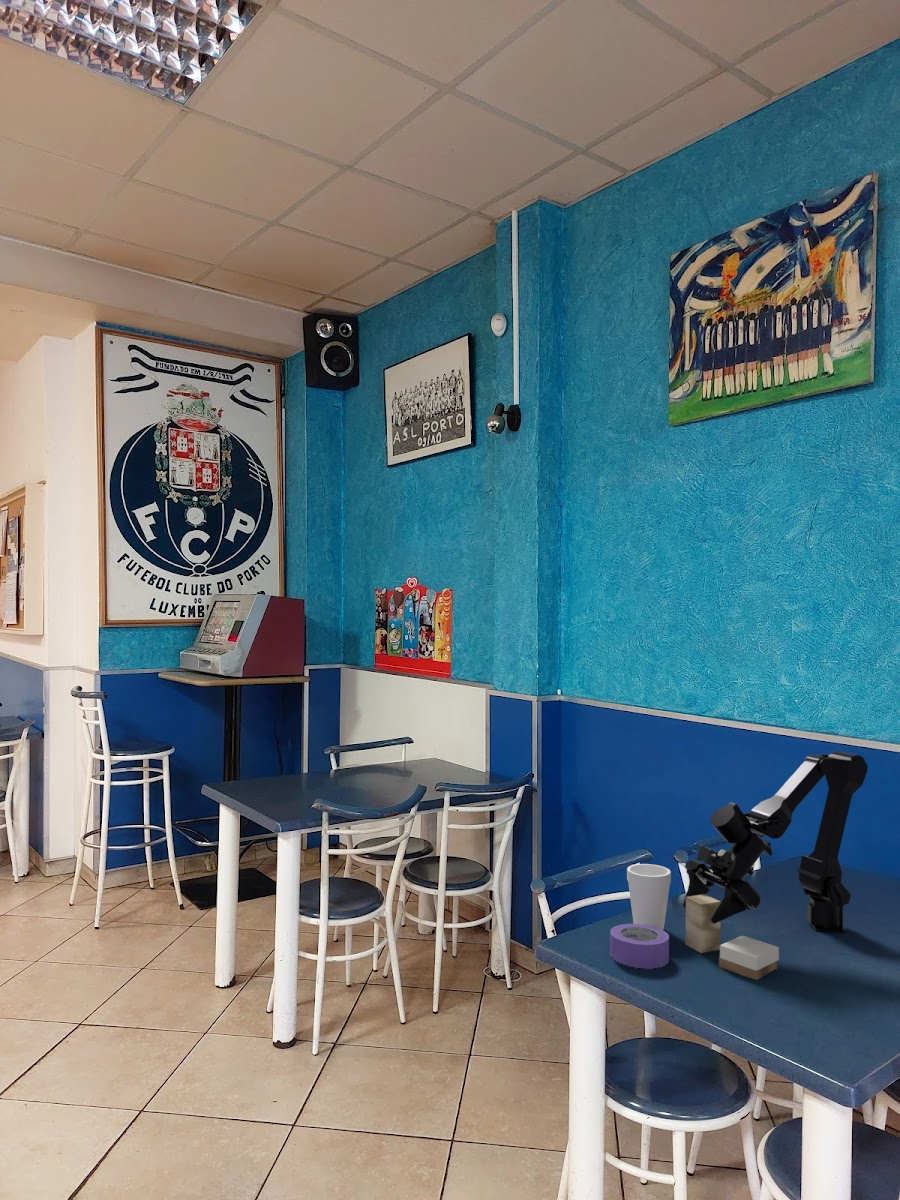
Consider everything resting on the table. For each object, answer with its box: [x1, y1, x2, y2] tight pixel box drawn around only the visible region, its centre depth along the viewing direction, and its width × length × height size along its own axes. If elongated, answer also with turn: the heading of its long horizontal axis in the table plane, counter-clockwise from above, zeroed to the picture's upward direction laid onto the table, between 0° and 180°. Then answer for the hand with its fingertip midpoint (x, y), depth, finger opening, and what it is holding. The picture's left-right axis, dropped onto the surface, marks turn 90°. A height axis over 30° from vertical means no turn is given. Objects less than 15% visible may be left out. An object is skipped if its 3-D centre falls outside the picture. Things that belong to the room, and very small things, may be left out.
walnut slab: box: [718, 956, 778, 981], centre depth 171 cm, size 8×8×2 cm
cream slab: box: [719, 935, 780, 971], centre depth 170 cm, size 8×8×2 cm
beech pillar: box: [685, 893, 722, 954], centre depth 181 cm, size 5×5×10 cm
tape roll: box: [609, 923, 670, 970], centre depth 176 cm, size 12×12×5 cm
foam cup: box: [626, 863, 672, 930], centre depth 191 cm, size 10×9×13 cm
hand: (698, 914), depth 181 cm, fingers open, 9 cm apart
